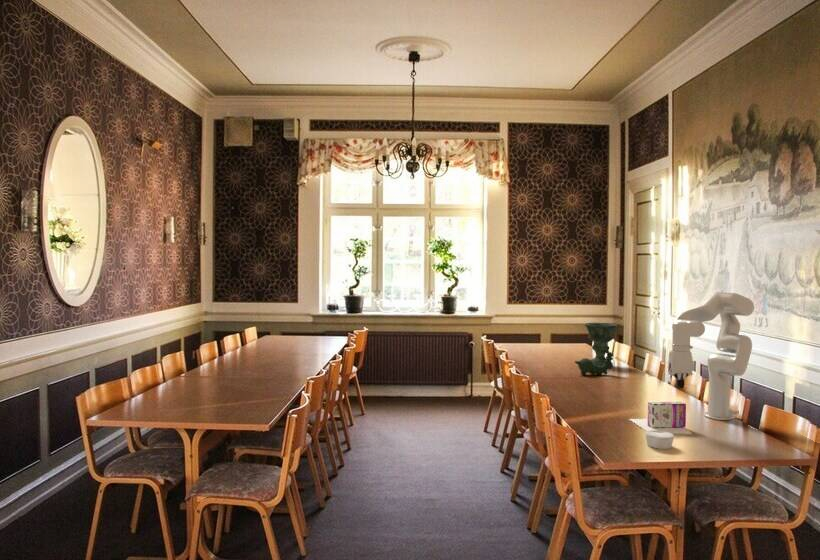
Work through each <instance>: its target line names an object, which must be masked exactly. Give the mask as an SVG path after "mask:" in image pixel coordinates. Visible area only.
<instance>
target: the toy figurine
mask: <svg viewBox="0 0 820 560" xmlns="http://www.w3.org/2000/svg"><path fill="white" fill-rule="evenodd" d="M609 350H610V349H609ZM609 350H608V349H602V350H601V351H600V352H602V351H604V352H605V354H606V356H605V358H606V360H605V363H604V364H603V365H602V366H600V365H596V364H594V363H593V362H592V361H591V359H590V358H587V357H585V358H582V359H580V360H575V361H574V363H575V364H576V365H578V369H579V370H580V374H581V376H585V375H586V374H588V373H589V374H590V375H592V376H596V375H598V376H600V377H601V376H602V375H603V374H604V375H607V374H608V370H612V368H613V367H610V365H611V364H613V362H612V361H613V359H614V358H613V356H614V353H613V352H611V351H609Z"/></svg>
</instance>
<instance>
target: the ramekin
mask: <svg viewBox="0 0 820 560" xmlns="http://www.w3.org/2000/svg"><path fill="white" fill-rule="evenodd" d="M645 439H646V444H647V446H648V445H649V446H648V447H650V448H652V447H653V448H652V449H656V448H658V449H657V450H669V449H671V448H672V446H673V442H674V439H675V434H671V433H668V432H664V431H656V430H651V431H645Z"/></svg>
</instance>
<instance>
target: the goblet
mask: <svg viewBox="0 0 820 560" xmlns="http://www.w3.org/2000/svg"><path fill="white" fill-rule="evenodd" d="M584 326H585V327H586V329H587V333H588V336H587V337H588V338H589V340H590V341H592V342H593V344H592V346H591V349H592V350H593V351H594V353H595V357H594V358H591V359H590V360H591V361H592V362H593V363H594V364H596V365H600V366H602V365H603V364H604V363H605V360H606V356H605V355H606V353H605V352H604V351H602V352H600V351H601V350H602V349H608V350H610V346H609V342H611V341H613V339H614V333H615V331H616V329H617V328H618V326H619V325H618V324H615V323H611V322H587V323H585V324H584ZM610 367H612V368H613V367H614V365H613V364H611V365H610Z"/></svg>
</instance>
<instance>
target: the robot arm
mask: <svg viewBox="0 0 820 560" xmlns="http://www.w3.org/2000/svg"><path fill="white" fill-rule="evenodd" d="M754 311H755V303H754V302H753V301H752V300H751V298H748V297H745V296H744V295H741V294H738V293H735V292H724V291H721V292H720V291H716V292H714V293H712V294H711V295H710V296H709V297H708V298H707V299H705V300H704V302H702V303H701V305H700V306H696V307H693V308H691V309H688V310H686V311H683V312H681V313H680V314H679V315H678V316H677V317H676V318H675V319H674V321H673V322H672V324H671V325H672V326H671V328H672V329H671V330H672V339H671V341H672V342H671V344H672V345H671V350H669V351H670V352H669V355H668V361H667V370H668V375H669V376H672V377H674V378H675V379H676V384H675V385H676V387H677V388H678V389H684V387H685V380H686V379H687V377H689V376H690V377H691V376H692V375H693V369H694V361H693V354H692V351H691V350H692V349H694V346H693V345H691V337H694V338H699V337H702V336H703V335H704V333H705V332H706V326H705V325H704V323H705V322H710V321H713V320H714V319H715V318H717V316H719V318H720V319H721V325H720V329H719V333H718V335H717V340H716V349H717V350H718V351H720V352H722V353H718V352H717V353H715V352H714V353H711V354H710V355H709V356H708V358H707V368H708V402H707V403H708V404H707V411H706V412H704V417H706V418H708V419H711V420H716V421H718V420H719V421H731V420H733V415H739V414H740V410H737V409H732V408H730V406H731V405H730V404H731V381H730V377H729V376H728V375H730V376H735V377H740V376H741V377H742V376H743V375H744V374H745V373H746V371H747V368H748V364H749V361H750V358H751V357H750V356H751V354H752V351H753V342H752V339H751V337H749V336H747V335H744V334H740V330H741V323H740V321H739V319H738V318H737V316H740V317H741V316H742V317H748V316H751V315H752V314H753V312H754ZM726 353H727V354H726ZM728 353H729V354H728ZM733 354H735V355H733Z"/></svg>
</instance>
